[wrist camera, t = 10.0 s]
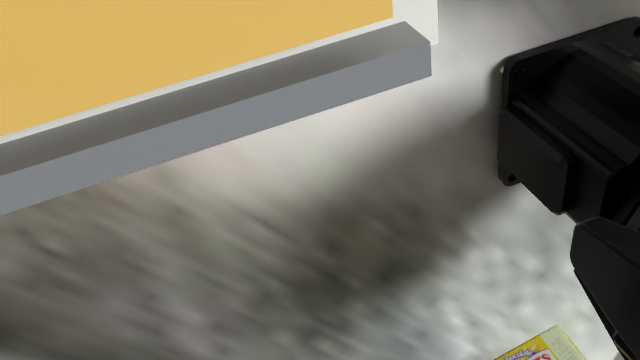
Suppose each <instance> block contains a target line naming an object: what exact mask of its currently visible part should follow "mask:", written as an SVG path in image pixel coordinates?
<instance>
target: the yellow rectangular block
mask: <svg viewBox="0 0 640 360" xmlns="http://www.w3.org/2000/svg"><path fill="white" fill-rule="evenodd" d="M389 18H393V7H392V0H0V136H2V135H6V134H9V133H12V132H16V131H19V130H22V129H26V128H29V127H32V126H35V125H39V124H42V123H45V122H49V121H52V120H55V119H59V118H62V117H65V116H69V115H72V114H75V113H78V112H82V111H85V110H88V109H92V108H95V107H98V106H102V105H105V104H108V103H112V102H115V101H118V100H121V99H125V98H128V97H131V96H135V95H138V94H141V93H145V92H148V91H151V90H155V89H158V88H161V87H164V86H168V85H171V84H174V83H178V82H181V81H184V80H188V79H191V78H194V77H197V76H201V75H204V74H207V73H211V72H214V71H217V70H221V69H224V68H227V67H231V66H234V65H237V64H240V63H244V62H247V61H250V60H254V59H257V58H260V57H264V56H267V55H270V54H274V53H277V52H280V51H283V50H287V49H290V48H293V47H297V46H300V45H303V44H307V43H310V42H313V41H317V40H320V39H323V38H326V37H330V36H333V35H336V34H340V33H343V32H346V31H350V30H353V29H356V28H360V27H363V26H366V25H369V24H373V23H376V22H379V21H383V20H386V19H389Z"/></svg>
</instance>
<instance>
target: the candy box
mask: <svg viewBox="0 0 640 360" xmlns="http://www.w3.org/2000/svg"><path fill="white" fill-rule="evenodd" d="M495 360H587V359H586V358H585V356H584V355H583V354H582V353H581V351H580V350H579V349H578V348H577V346H576V345H575V344H574V343H573V341H572V340H571V339H570V338H569V337H568V335H567V334H566V333H565V332H564V330H563V329H562V328H561V327H560V326H559V325H556V326H554V327H552V328H550V329H549V330H547V331H545V332H543V333H541V334H540V335H538V336H536V337H534V338H532V339H531V340H529V341H527V342H525V343H524V344H522V345H520V346H518V347H516V348H515V349H513V350H511V351H509V352H508V353H506V354H504V355H502V356H500V357H499V358H497V359H495Z"/></svg>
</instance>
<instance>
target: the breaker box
mask: <svg viewBox="0 0 640 360" xmlns="http://www.w3.org/2000/svg"><path fill="white" fill-rule="evenodd" d="M392 7H393V18H389V19H386V20H383V21H379V22H376V23H373V24H369V25H366V26H363V27H360V28H356V29H353V30H350V31H346V32H343V33H340V34H336V35H333V36H330V37H326V38H323V39H320V40H317V41H313V42H310V43H307V44H303V45H300V46H297V47H293V48H290V49H287V50H283V51H280V52H277V53H274V54H270V55H267V56H264V57H260V58H257V59H254V60H250V61H247V62H244V63H240V64H237V65H234V66H231V67H227V68H224V69H221V70H217V71H214V72H211V73H207V74H204V75H201V76H197V77H194V78H191V79H188V80H184V81H181V82H178V83H174V84H171V85H168V86H164V87H161V88H158V89H155V90H151V91H148V92H145V93H141V94H138V95H135V96H131V97H128V98H125V99H121V100H118V101H115V102H112V103H108V104H105V105H102V106H98V107H95V108H92V109H88V110H85V111H82V112H78V113H75V114H72V115H69V116H65V117H62V118H59V119H55V120H52V121H49V122H45V123H42V124H39V125H35V126H32V127H29V128H26V129H22V130H19V131H16V132H12V133H9V134H6V135H2V136H0V215H3V214H6V213H9V212H12V211H15V210H18V209H21V208H24V207H28V206H31V205H34V204H37V203H40V202H43V201H46V200H49V199H52V198H55V197H58V196H62V195H65V194H68V193H71V192H74V191H77V190H80V189H83V188H86V187H89V186H93V185H96V184H99V183H102V182H105V181H108V180H111V179H114V178H117V177H120V176H123V175H127V174H130V173H133V172H136V171H139V170H142V169H145V168H148V167H151V166H154V165H157V164H161V163H164V162H167V161H170V160H173V159H176V158H179V157H182V156H185V155H188V154H191V153H195V152H198V151H201V150H204V149H207V148H210V147H213V146H216V145H219V144H222V143H225V142H229V141H232V140H235V139H238V138H241V137H244V136H247V135H250V134H253V133H256V132H259V131H263V130H266V129H269V128H272V127H275V126H278V125H281V124H284V123H287V122H290V121H294V120H297V119H300V118H303V117H306V116H309V115H312V114H315V113H318V112H321V111H324V110H328V109H331V108H334V107H337V106H340V105H343V104H346V103H349V102H352V101H355V100H358V99H362V98H365V97H368V96H371V95H374V94H377V93H380V92H383V91H386V90H389V89H392V88H396V87H399V86H402V85H405V84H408V83H411V82H414V81H417V80H420V79H423V78H426V77H430V76H432V74H431V49H430V46H433V45H436V44H439V41H438V7H437V0H392Z"/></svg>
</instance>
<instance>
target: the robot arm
mask: <svg viewBox="0 0 640 360" xmlns="http://www.w3.org/2000/svg"><path fill="white" fill-rule="evenodd" d="M634 30H635V31H634ZM518 66H520V67H519V69H518V70H517V71H516V72H515V70H516V68H517V67H518ZM498 160H499V168H498V178H499V180H500V181H501V182H502V183H503V184H504V185H505V186H512V185H515V184H518V183H520V182H521V183H522V184H523V185H524V186H525V187H526V188H527V189H528V190H529V191H530V192H531V193H532V194H534V195H535V196H536V197H537V198H538V199H539V200H540V201H541V202H542V203H543V204H544V205H545V206H546V207H547V208H548V209H549V210H550V211H551V212H553V213H554V214H556V215H561V214H564V213H565V214H567V215H568V216H569V217H570V218H571V219H572V220H573V221H574V222H575V223H576V226H575V228H574V232H573V238H572V244H571V250H570V259H571V262H572V265H573V267H574V268H575V269H574V273H575V275H576V277H577V278H578V280H579V282H580V284H581V285H582V287H583V289H584V291H585V292H586V294H587V296H588V298H589V300H590V301H591V303H592V305H593V307H594V308H595V310H596V312H597V314H598V316H599V317H600V319H601V321H602V323H603V324H604V326H605V328H606V330H607V331H608V333H609V335H610V337H611V339H612V340H613V342H614V344H615V346H616V347H617V349H618V351H619V352H620V354H621V355H622V357H623V358H624V359H625V360H640V17H632V18H629V19H626V20H623V21H620V22H616V23H613V24H610V25H607V26H604V27H601V28H598V29H595V30H592V31H589V32H586V33H583V34H580V35H577V36H573V37H570V38H567V39H564V40H561V41H558V42H555V43H552V44H549V45H546V46H543V47H540V48H537V49H534V50H530V51H527V52H524V53H521V54H518V55H515V56H513V57H511V58H510V59H509V60H508V61H507V62H506V64H505V66H504V70H503V89H502V109H501V113H500V119H499V140H498ZM510 174H511V175H510Z"/></svg>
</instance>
